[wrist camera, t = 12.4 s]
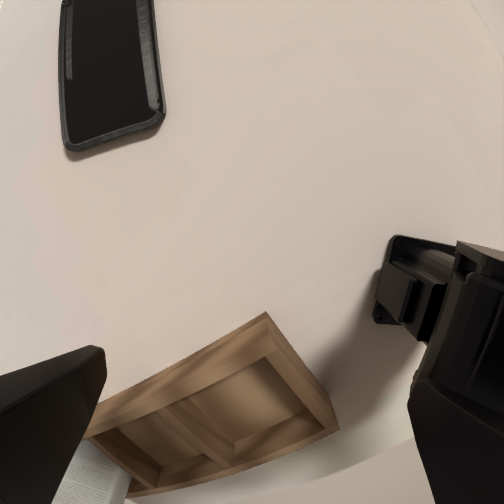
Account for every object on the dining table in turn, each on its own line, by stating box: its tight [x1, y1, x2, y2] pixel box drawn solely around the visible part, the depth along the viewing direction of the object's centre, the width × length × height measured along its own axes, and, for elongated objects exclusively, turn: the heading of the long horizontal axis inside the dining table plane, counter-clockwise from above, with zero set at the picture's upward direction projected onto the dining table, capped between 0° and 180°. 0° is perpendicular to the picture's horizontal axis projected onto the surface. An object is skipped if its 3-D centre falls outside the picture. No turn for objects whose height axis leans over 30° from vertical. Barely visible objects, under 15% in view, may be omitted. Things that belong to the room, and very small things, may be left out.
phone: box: [58, 0, 166, 152], centre depth 16 cm, size 8×1×15 cm
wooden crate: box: [82, 312, 340, 499], centre depth 21 cm, size 27×10×5 cm, turn 124°
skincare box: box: [52, 438, 132, 504], centre depth 18 cm, size 6×4×12 cm
